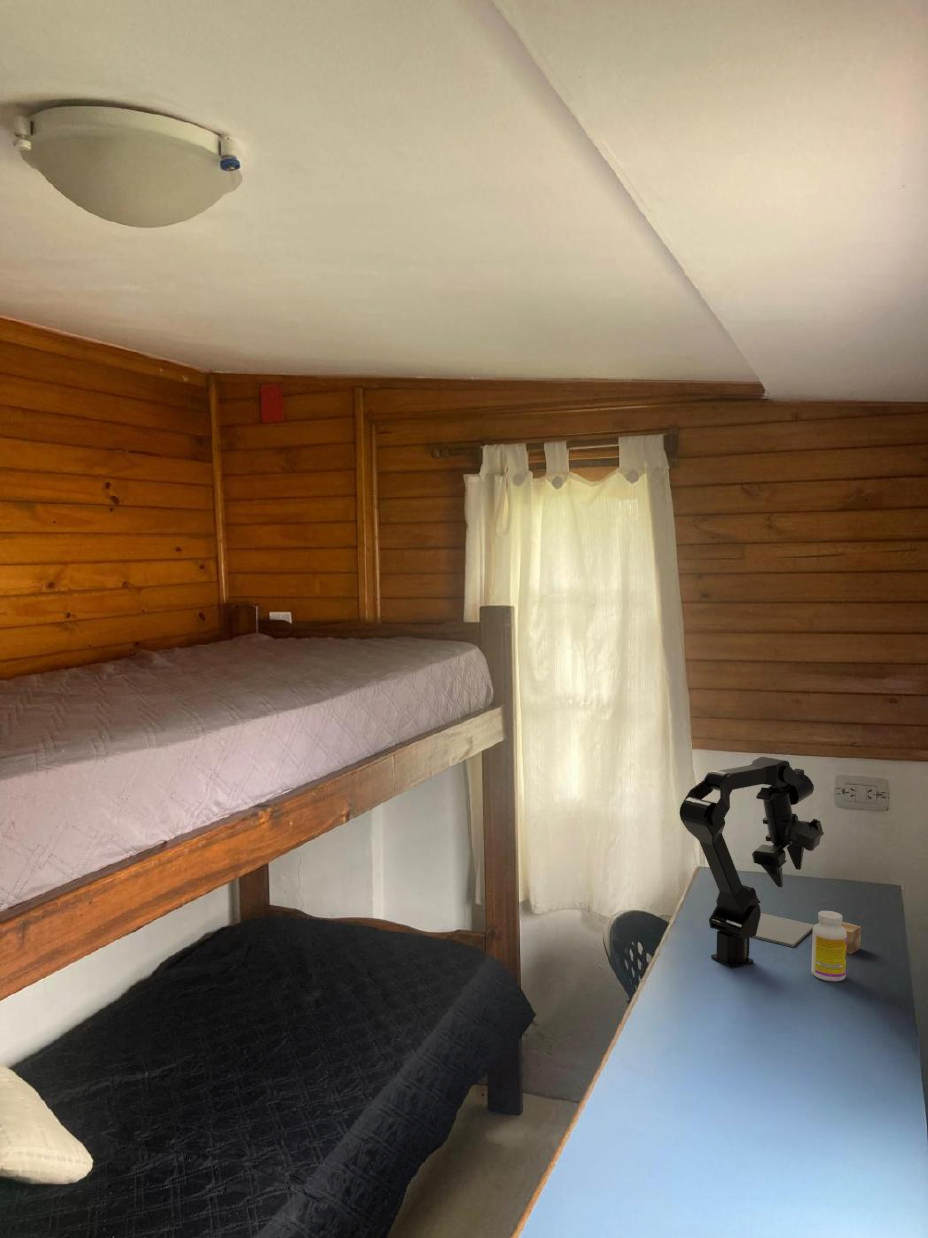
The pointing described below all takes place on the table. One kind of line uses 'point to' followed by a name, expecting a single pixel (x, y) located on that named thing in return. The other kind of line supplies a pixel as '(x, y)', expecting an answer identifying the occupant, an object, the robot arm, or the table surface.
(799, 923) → the mat
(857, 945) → the light brown cube
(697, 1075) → the table surface
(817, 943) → the supplement bottle
